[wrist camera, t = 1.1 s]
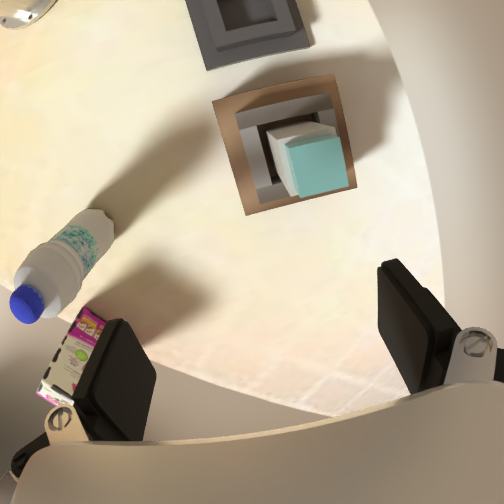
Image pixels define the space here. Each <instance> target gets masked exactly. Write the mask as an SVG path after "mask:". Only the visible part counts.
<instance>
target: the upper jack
mask: <svg viewBox="0 0 504 504" xmlns="http://www.w3.org/2000/svg"><path fill="white" fill-rule="evenodd" d="M212 104H213V107H214V110H215V114H216V117H217V120H218V124H219V127H220V131H221V134H222V137H223V141H224V144H225V147H226V151H227V154H228V157H229V161H230V164H231V168H232V171H233V174H234V178H235V181H236V184H237V188H238V191H239V195H240V198H241V201H242V205H243V208H244V211H245V215H246V216H247V215H251V214H255V213H259V212H262V211H266V210H270V209H274V208H278V207H281V206H285V205H289V204H293V203H297V202H301V201H305V200H309V199H313V198H317V197H321V196H325V195H329V194H333V193H337V192H341V191H346V190H350V189H354V188H357V182H356V176H355V170H354V164H353V158H352V153H351V148H350V142H349V137H348V132H347V128H346V123H345V118H344V114H343V109H342V105H341V101H340V96H339V92H338V88H337V84H336V80H335V76H334V74H330V75H324V76H318V77H312V78H307V79H302V80H296V81H291V82H286V83H282V84H277V85H273V86H268V87H264V88H260V89H256V90H252V91H248V92H244V93H240V94H236V95H232V96H229V97H225V98H222V99H218V100H215V101H212ZM302 120H307V121H311V122H316V123H320V124H324V125H328V126H332V127H335V130H336V134H337V136H338V137H340V141H341V146H342V151H343V156H344V161H345V167H346V172H347V178H348V184H349V186H348V187H344V188H340V189H336V190H332V191H327V192H323V193H319V194H315V195H311V196H307V197H303V198H300V196H299V195H296V196H292V197H291V196H290V194H289V193H288V191H287V189H286V187H285V186H284V184H283V182H282V180H281V179H280V177H279V175H278V173H277V172H276V170H275V168H274V164H273V160H272V157H271V153H270V149H269V145H268V141H267V138H266V134H265V130H264V129H268V128H272V127H276V126H280V125H284V124H289V123H293V122H298V121H302Z"/></svg>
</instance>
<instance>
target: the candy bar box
mask: <svg viewBox="0 0 504 504" xmlns="http://www.w3.org/2000/svg"><path fill="white" fill-rule="evenodd" d="M105 324H106V321H104V320H103V319H101V318H100V317H98V316H97V315H95V314H94V313H92V312H91V311H89V310H88V309H87V308H85V307H84V306H83V307H82V309H81V310H80V312H79V313H78V315H77V317H76V318H75V320H74V321H73V323H72V325H71V326H70V328H69V330H68V332H67V333H66V335H65V337H64V339H63V341H62V342H61V344H60V346H59V348H58V350H57V351H56V353H55V355H54V357H53V359H52V361H51V363H50V365H49V367H48V369H47V371H46V372H45V375H44V377H43V379H42V381H41V383H40V385H39V387H38V389H37V392H36V394H38V395H39V396H41V397H43V398H44V399H46V400H47V401H49V402H50V403H52V404H54V405H55V406H58V405H60V404H70V405H72V406H73V404H74V401H73V400H72V399H71V397H72V395H73V393H74V390H75V388H76V386H77V383H78V381H79V379H80V377H81V374H82V372H83V370H84V368H85V366H86V363H87V361H88V359H89V357H90V355H91V353H92V351H93V349H94V347H95V344H96V342H97V340H98V338H99V336H100V334H101V332H102V330H103V328H104V326H105Z"/></svg>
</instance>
